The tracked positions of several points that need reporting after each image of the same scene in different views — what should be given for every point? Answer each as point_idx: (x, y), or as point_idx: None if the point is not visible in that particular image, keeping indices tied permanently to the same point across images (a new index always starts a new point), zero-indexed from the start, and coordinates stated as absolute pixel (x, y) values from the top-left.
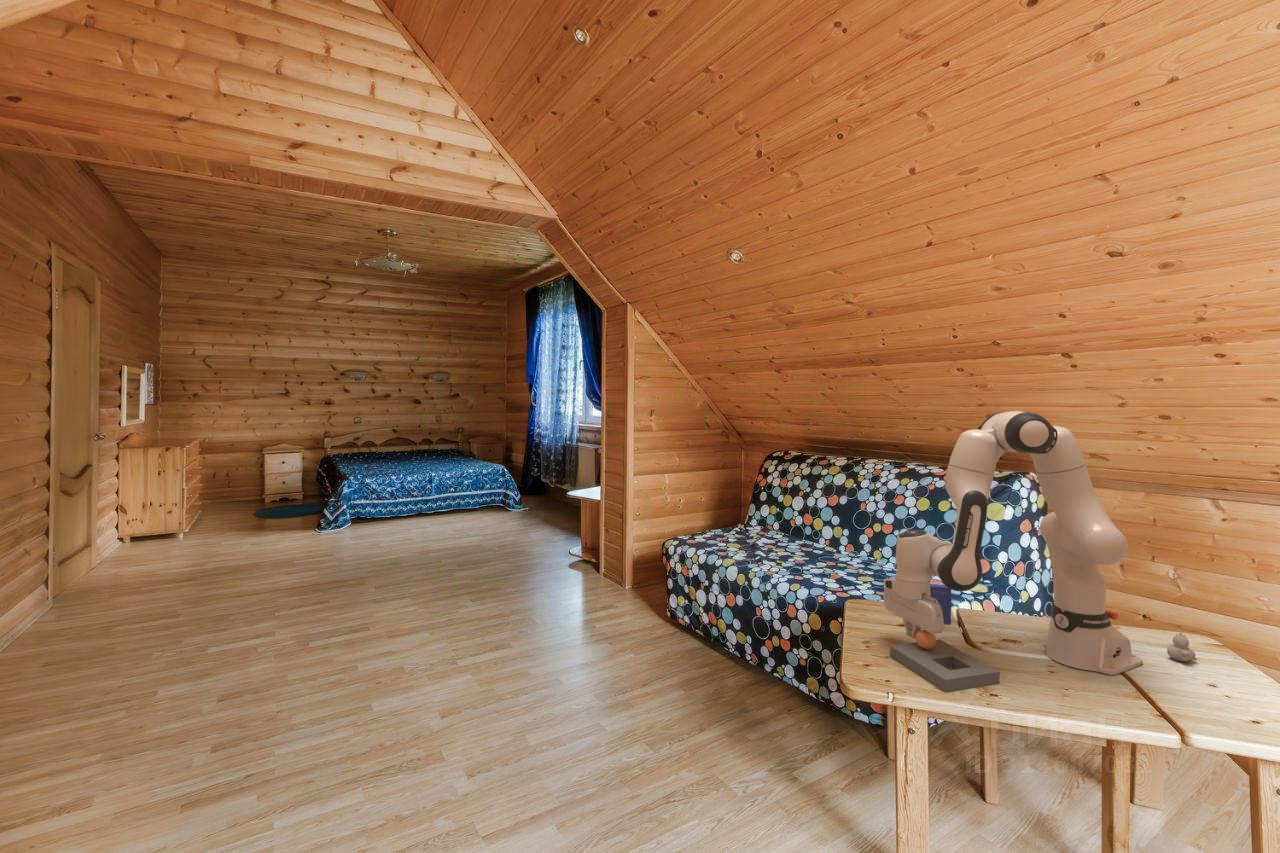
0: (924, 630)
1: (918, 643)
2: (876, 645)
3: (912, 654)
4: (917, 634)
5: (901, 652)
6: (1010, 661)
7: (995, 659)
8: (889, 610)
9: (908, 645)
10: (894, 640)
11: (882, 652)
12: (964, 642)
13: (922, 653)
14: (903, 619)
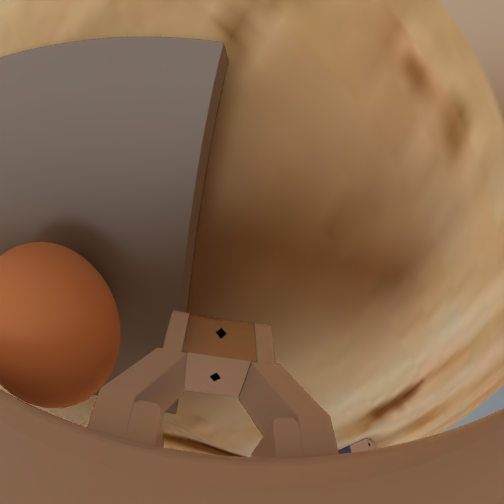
0: (5, 379)
1: (42, 244)
2: (400, 135)
3: (22, 108)
4: (23, 306)
5: (74, 43)
6: (72, 418)
7: (82, 411)
8: (495, 419)
9: (149, 207)
10: (373, 287)
11: (307, 68)
12: (203, 441)
13: (18, 193)
14: (329, 442)
